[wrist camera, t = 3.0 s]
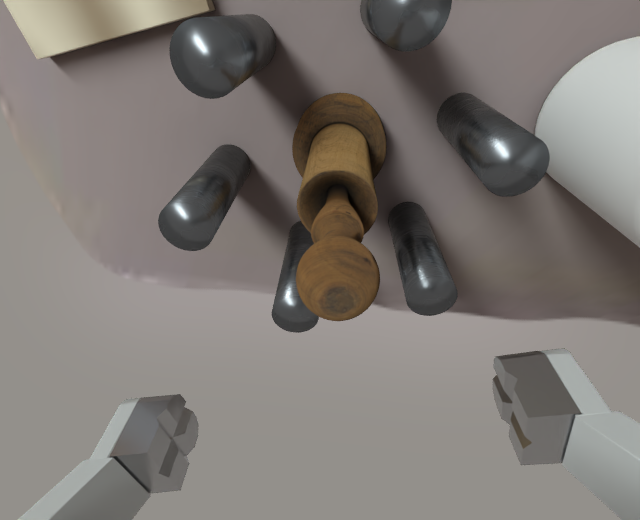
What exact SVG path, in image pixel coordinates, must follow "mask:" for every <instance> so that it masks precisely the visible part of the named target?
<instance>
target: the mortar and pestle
mask: <svg viewBox="0 0 640 520" xmlns="http://www.w3.org/2000/svg"><path fill="white" fill-rule="evenodd" d="M385 154H386V138H385V133H384V130H383V126H382V123H381V120H380V118H379V116H378V114H377V113H376V111H375V110H374V109H373V107H372V106H371V105H370V104H368V103H367V102H366V101H365V100H363V99H361V98H360V97H358V96H355V95H352V94H347V93H334V94H329V95H326V96H324V97H322V98H320V99H318V100H317V101H315V102H314V103H313V104H312V105H310V106H309V107H308V109H307V110H306V111H305V112H304V114H303V115H302V117H301V119H300V121H299V123H298V126H297V129H296V131H295V134H294V138H293V158H294V162H295V165H296V167H297V170H298V171H299V173H300V175H301V176H302V177H303V180H302V184H301V187H300V191H299V195H298V199H297V210H298V215H299V217H300V220H301V222H302V223H303V225H304V226H305V228H306V229H307V230H308V231H309V232H310V233H311V237H312V240H313V242H314V244H313V245H312V246H311V247H310V248H309V249H308V250H307V251H306V252H305V253H304V255H303V256H302V258H301V260H300V262H299V264H298V267H297V272H296V285H297V290H298V293H299V296H300V298H301V300H302V301H303V303H304V304H305V306H306V307H307V308H308V309H309V310H310V311H311V312H313V313H314V314H315V315H317V316H319V317H321V318H324V319H327V320H332V321H343V320H349V319H352V318H354V317H357V316H359V315H360V314H362V313H363V312H364V311H365V310H366V309H368V307H369V306H370V305H371V304H372V302H373V301H374V299H375V297H376V295H377V292H378V289H379V283H380V274H379V268H378V265H377V262H376V260H375V258H374V256H373V255H372V253H371V252H370V251H369V250H368V249H367V248H366V247H365V246H364V245H363V244H361V242H362V239H363V236H364V234H365V233H367V232H368V231H369V229H370V228H371V227H372V225H373V224H374V222H375V219H376V216H377V211H378V203H377V197H376V192H375V187H374V182H373V179H374V178H375V177H376V176H377V174H378V173H379V171H380V169H381V167H382V165H383V162H384V159H385Z"/></svg>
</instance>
